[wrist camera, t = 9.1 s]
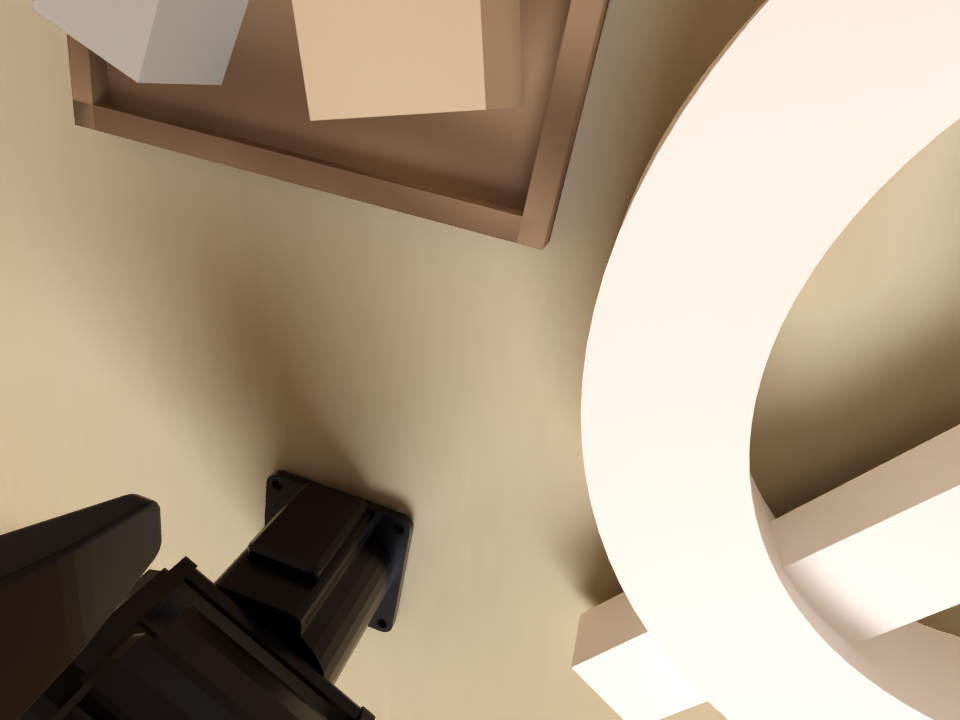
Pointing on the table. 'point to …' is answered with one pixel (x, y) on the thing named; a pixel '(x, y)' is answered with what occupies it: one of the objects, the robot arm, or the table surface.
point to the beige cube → (154, 35)
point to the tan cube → (408, 56)
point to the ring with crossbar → (734, 386)
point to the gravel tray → (371, 124)
